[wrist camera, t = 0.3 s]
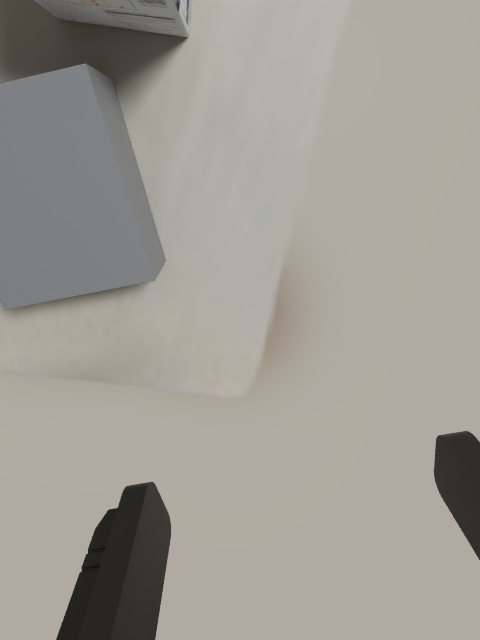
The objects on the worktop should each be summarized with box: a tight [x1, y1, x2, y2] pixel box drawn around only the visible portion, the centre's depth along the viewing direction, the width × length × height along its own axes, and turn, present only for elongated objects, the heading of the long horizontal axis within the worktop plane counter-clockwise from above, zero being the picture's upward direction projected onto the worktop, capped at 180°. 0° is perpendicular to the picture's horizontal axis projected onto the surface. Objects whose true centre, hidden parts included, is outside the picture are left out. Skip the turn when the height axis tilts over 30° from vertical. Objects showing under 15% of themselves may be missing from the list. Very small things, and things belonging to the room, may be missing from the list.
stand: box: [0, 63, 166, 310], centre depth 31 cm, size 16×14×6 cm
